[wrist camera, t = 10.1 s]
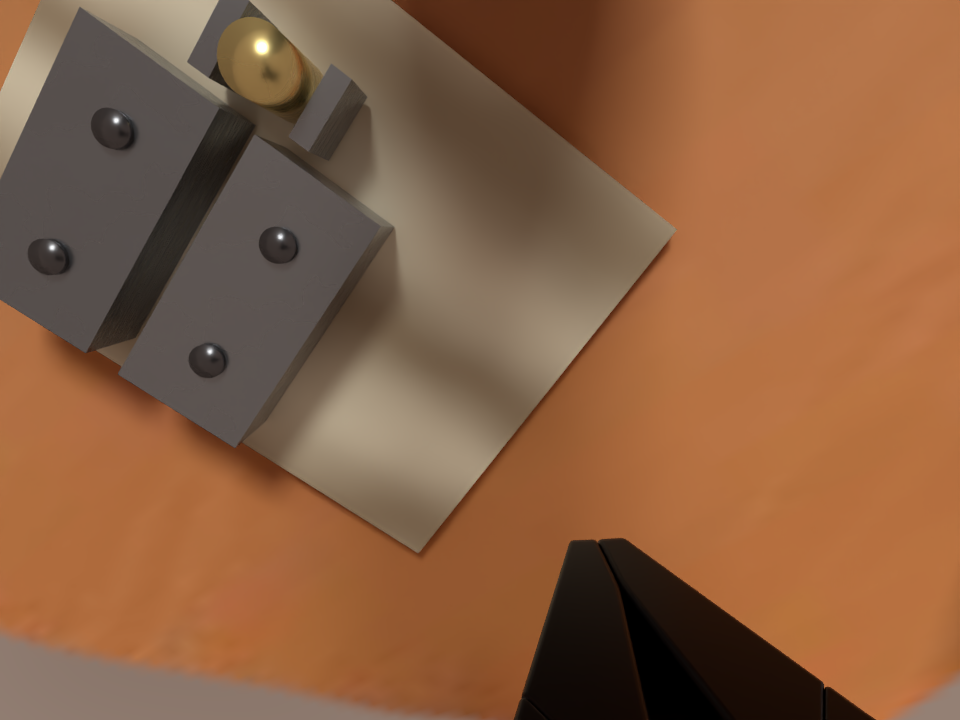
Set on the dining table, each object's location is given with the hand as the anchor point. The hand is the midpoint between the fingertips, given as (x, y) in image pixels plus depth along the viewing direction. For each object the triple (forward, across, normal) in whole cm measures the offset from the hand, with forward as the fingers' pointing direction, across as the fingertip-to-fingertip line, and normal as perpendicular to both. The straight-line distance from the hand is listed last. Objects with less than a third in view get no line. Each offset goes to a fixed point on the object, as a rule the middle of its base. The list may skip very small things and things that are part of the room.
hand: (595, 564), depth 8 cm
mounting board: (+12, +8, -5) cm, 15 cm away
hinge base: (+11, +12, -8) cm, 18 cm away
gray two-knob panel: (+11, +8, -5) cm, 15 cm away
